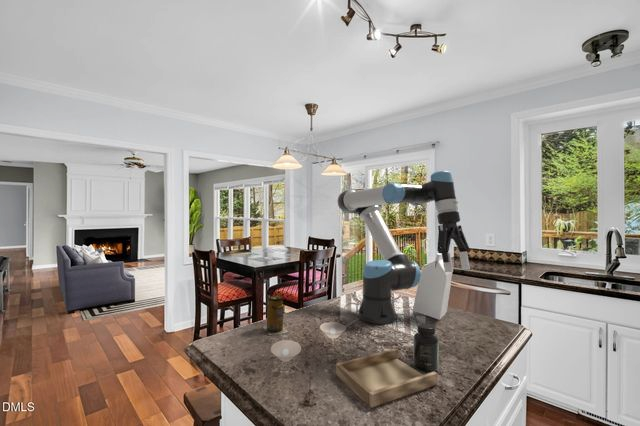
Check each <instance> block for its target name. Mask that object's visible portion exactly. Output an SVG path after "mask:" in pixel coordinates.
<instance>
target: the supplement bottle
mask: <svg viewBox="0 0 640 426" xmlns="http://www.w3.org/2000/svg"><path fill="white" fill-rule="evenodd" d="M439 341H440V340H439V338H438V336H437V335H436V327H435V325H434V324H431V323H428V322H427V323H426V322H420V323H418V324H417V332H416V333H415V334H414V335H413V347H412V349H413V351H412V353H413V354H412V356H413V357H412V359H413V360H412V361H413V362H412V364H413V367H414V368H415V370H417V371H420V372H423V373H426V374H428V373H431V372H436V371H438V369H439V347H440V346H439V345H440V343H439Z"/></svg>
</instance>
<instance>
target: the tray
mask: <svg viewBox="0 0 640 426" xmlns="http://www.w3.org/2000/svg"><path fill="white" fill-rule="evenodd" d="M398 351H399V350H398V348H392V349H387V350H384V351H380V352H376V353H372V354H369V355H364V356H359V357H356V358H353V359H349V360H345V361H341V362H337V363H336V364H335V368H336V369H335V375H336V376H337V378H338V379H339V380H341V382H342V383H344V384H345V385H346V386H347V387H348V388H349V389H350V390H352V392H353V393H354V394H355V395H357V397H359V398H360V399H361V400H362V402H364V403H365V404H366V405H367V406H369V405H370V406H369V407H370V408H376V407H378V406H381V405H384V404H386V402H387V403H389V402H392V401H394V400H397V399H400V398H403V397H406V396H409V395H411V394H414V393H418V392H420V391H424V390H427V389H429V388H432V387H435V386H437V385H438V372H436V371H435V372H431V373H426V374H423V373H421V372H419V370H417V369H414V368H413V367H412V366H409V365H408V364H406V363H405V362H403V361H402V360H400V359H399V358H398V356H399V354H398ZM383 403H384V404H383ZM380 404H381V405H380ZM377 405H378V406H377Z"/></svg>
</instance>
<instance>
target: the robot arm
mask: <svg viewBox="0 0 640 426" xmlns="http://www.w3.org/2000/svg"><path fill="white" fill-rule="evenodd" d="M453 180H454V178H453V176H452V172H450V171H449V170H440V171H439V170H438V171H436V172H433V173H431V175H430V181H428V182H426V183H422V184H418V183H417V184H414V183H400V182H388V183H387V184H386V185H383V186H377V187H373V188H372V187H371V188H367V189H361V190H355V189H348V190H343V191H342V192H341V193H340V194H339V195H338V197H337V206H338V208H339V209H340V210H341V211H342V212H344V213H346V214H357V215H358V217H359V219H360V221H364V224H365V225H366V226H367V229H368V231H369V233H370V235H371V237H372V240H373V241H374V244H375V245H376V247H377V250H378V251H379V253H380V256H381V258H382V259H379V260H378V259H376V260H375V259H374V260H370V261H368V262H365V263H364V265H363V271H362V300H361V301H360V302H361V303H360V306H359V308H358V312H357V315H358V319H359V320H360V321H362V322H364V323H368V324H373V325H387V324H392V323H394V322H395V320H396V312H395V308H394V306H393V302H392V292H394V291H395V292H396V291H401V290H409V289H412V288H415V287H416V286H418V284H419V280H420V275H421V269H420V268H421V267H420V266H419V265H418V263H417V262H416V261H413V260H410V259H409V257H408V255H407V254H406V253H404V252H401V250H400V248H399V246H398V244H397V242H396V239H394V236H393V235H392V233H391V231H390V229H389V227H388V225H387V223H386V222H385V220H384V218H383V216H382V214H381V213H382V206H384V205H394V204H410V205H412V206H415V207H417V206H423V205H424V204H427V203H430V202H433V201H434V205H435V212H436V214H437V215H436V217H437V223H438V224H439V225H437V229H438V232H437V233H438V234H437V254H438V253H439V254H440V253H442V258H443V264H444V270H445V272H452V273H453V272H454V268H453V262H452V256H451V252H449V250H450V246H451V242H452V240H453V241H454V243H455V245H456V247H457V248H458V255H459V262H460V265H461V271H463V270H471V265H470V261H469V256H468V252H470V247H469V244H468V242H467V239H466V236H465V234H464V232H463V228H462V227H463V226H462V225H459V224H458V225H457V223H459V222H460V221H461V217H460V212H459V211H458V210H459V208H458V204H459V201H457V197H456V191H455V185H454V181H453Z"/></svg>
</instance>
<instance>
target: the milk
mask: <svg viewBox="0 0 640 426" xmlns="http://www.w3.org/2000/svg"><path fill="white" fill-rule="evenodd" d="M420 272H421V275H420V280H419V283H418V284H417V289H416V293H415V298H414V301H413V305H412V311H413V312H417V313H419V314H422V315H425V316H426V317H427V316H428V317H430V318H433V319H436V320H438V321H439V320H441V319H442V318H443V317H444V316H445V315H446V314H447V312H448V305H449V300H450V299H449V298H450V294H451V285H452V279H453V272H445V270H444V264H443V258H442V253H440V254H439V253H438V252H437V253H436V255H435V260H434V261H432V262H430V263H429V264H427V265H426V266H424V267H423V268H422V269H421V270H420Z"/></svg>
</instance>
